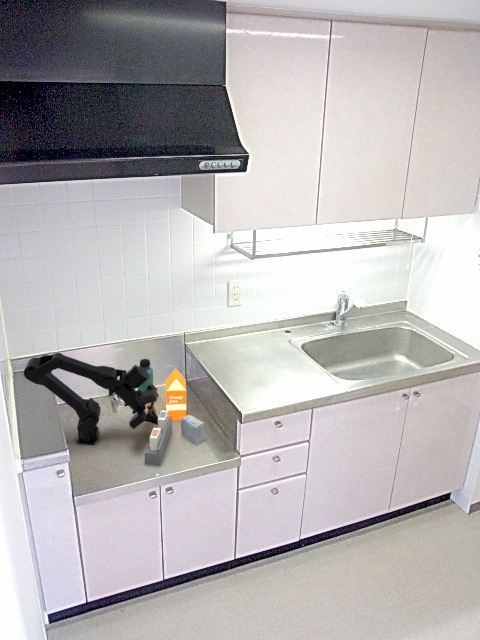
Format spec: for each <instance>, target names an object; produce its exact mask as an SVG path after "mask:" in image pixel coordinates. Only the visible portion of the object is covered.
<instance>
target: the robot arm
mask: <svg viewBox="0 0 480 640" xmlns="http://www.w3.org/2000/svg"><path fill="white" fill-rule="evenodd" d="M57 369H59V370H62V371H65V372H68V373H70V374H74V375H76V376H80V377H83V378H85V379H86V378H87V379H89V380H91V381H92V382H93V383H94V384H96V385H97V386H99V387H101V388H103V389H105V390H108V396H109V397H111V396H112V395H113V394H115V395H116V396H117V397H118V398H120V400H122V401H123V402H124V404H123V406H124V407H125V408H127V407H129V408H130V409H131V410H132V414H133V416H132V417H131V418H130V420H129V425H128V426H129V427H130V428H131V429H132V430H135V429H136V428H137V427H139V426H140V425H141V424H143V423H144V422H145V423H150V424H154V425H155V426H156V425H158V418H159V416H158V415H157V413H155V411H156V410H155V411H154V406H155V402H157V400H158V397H159V396H160V395H159V393H158V390H159V389H158V388H157V387H156V386H155V385H154V384H153V385H152V384H149V385H148V387H147V390H145V391H144V392H142V391H140V390H138V387H139V386H141V385H142V384H143V383H144V382H145V381H146V380H147V379H149V374H148V372H147V371H146V370H145V369H144V368H143V367H140V365H137V364H134V365H133V366H132V367H131V368H130V369H129V370H128V371H127V370H125V369H118V368H115V367H112V366H106V365H93V364H90V363H88V362H84V361H81V360H79V359H76V358H72V357H69V356H67V355H65V354H63V353H61V352H56V353H52V354H45V355H43V356H40V357H39V356H37V357H32V358H30V359H29V360H28V361H27V363H26V365H25V368H24V371H23V376H24V378H25V379H26V380H28V381H30V382H31V383H32V384H36V385H40V386H43V387H45V388H46V389H47V390H48V391H50V392H51V393H53V394H54V395H55V396H56V397H57V398H59V399H60V400H61V401H63V402H64V403H65V404H66V405H68V407H71V409H72V410H74V411H75V413H76V416H77V417H78V422H77V424H76V429H77V436H78V439H77V441H76V443H77V444H83V445H90V446H91V445H95V444H96V442H97V441H98V439H99V437H100V430H99V429H100V428H99V426H98V423H99V421H100V417H101V412H102V410H101V406H100V403H99V402H96V401H95V400H94V398H92V397H89V399H85V398H83V397H82V396H80V395H79V394H78V393H76V392H75V391H74V390H73V389H72V388H70V387H69V386H68V385H66V384H65V383H64V382H62V381H61V379H60V378H58V377H57V376H55V375H54V374H53V371H54V370H57ZM118 377H119V379H118ZM136 389H137V390H136ZM151 402H153V403H152V404H151Z"/></svg>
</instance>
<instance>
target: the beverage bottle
mask: <svg viewBox="0 0 480 640" xmlns="http://www.w3.org/2000/svg"><path fill="white" fill-rule="evenodd" d="M139 366H140V367H143V368H144V369H145V370H146V371H147V372H148V374H149V379H147V380H146V381H145V382H144V383H143V384H142V385H141V386H139V387H138V388H137V390H140V391H142V392H143V391H145V390H147V387H148V385H149V384H152V385H154V369H153V367H151V360H150V359H149V358H142V359H140V361H139Z"/></svg>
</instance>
